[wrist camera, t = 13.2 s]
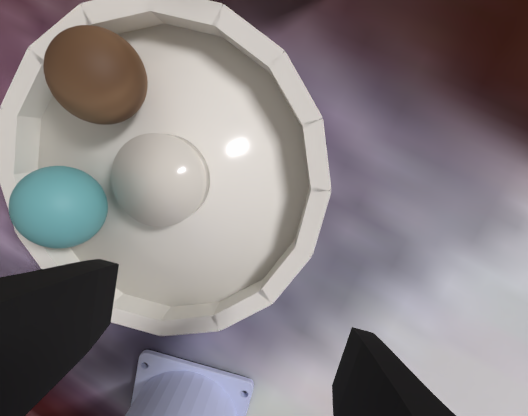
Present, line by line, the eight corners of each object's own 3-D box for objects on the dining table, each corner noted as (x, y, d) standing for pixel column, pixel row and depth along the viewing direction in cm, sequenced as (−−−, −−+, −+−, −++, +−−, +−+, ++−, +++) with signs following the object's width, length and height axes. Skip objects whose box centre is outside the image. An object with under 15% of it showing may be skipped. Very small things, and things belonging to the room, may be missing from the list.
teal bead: (118, 242, 19) (67, 270, 15) (50, 225, 19) (-19, 248, 15) (128, 173, 18) (77, 181, 14) (57, 155, 18) (-15, 158, 14)
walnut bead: (136, 148, 17) (113, 120, 13) (54, 116, 16) (2, 76, 12) (165, 78, 18) (153, 30, 13) (88, 45, 17) (49, -18, 13)
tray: (281, 343, 20) (279, 369, 18) (25, 272, 21) (-9, 288, 19) (364, 53, 16) (376, 37, 14) (46, -20, 17) (6, -46, 15)
